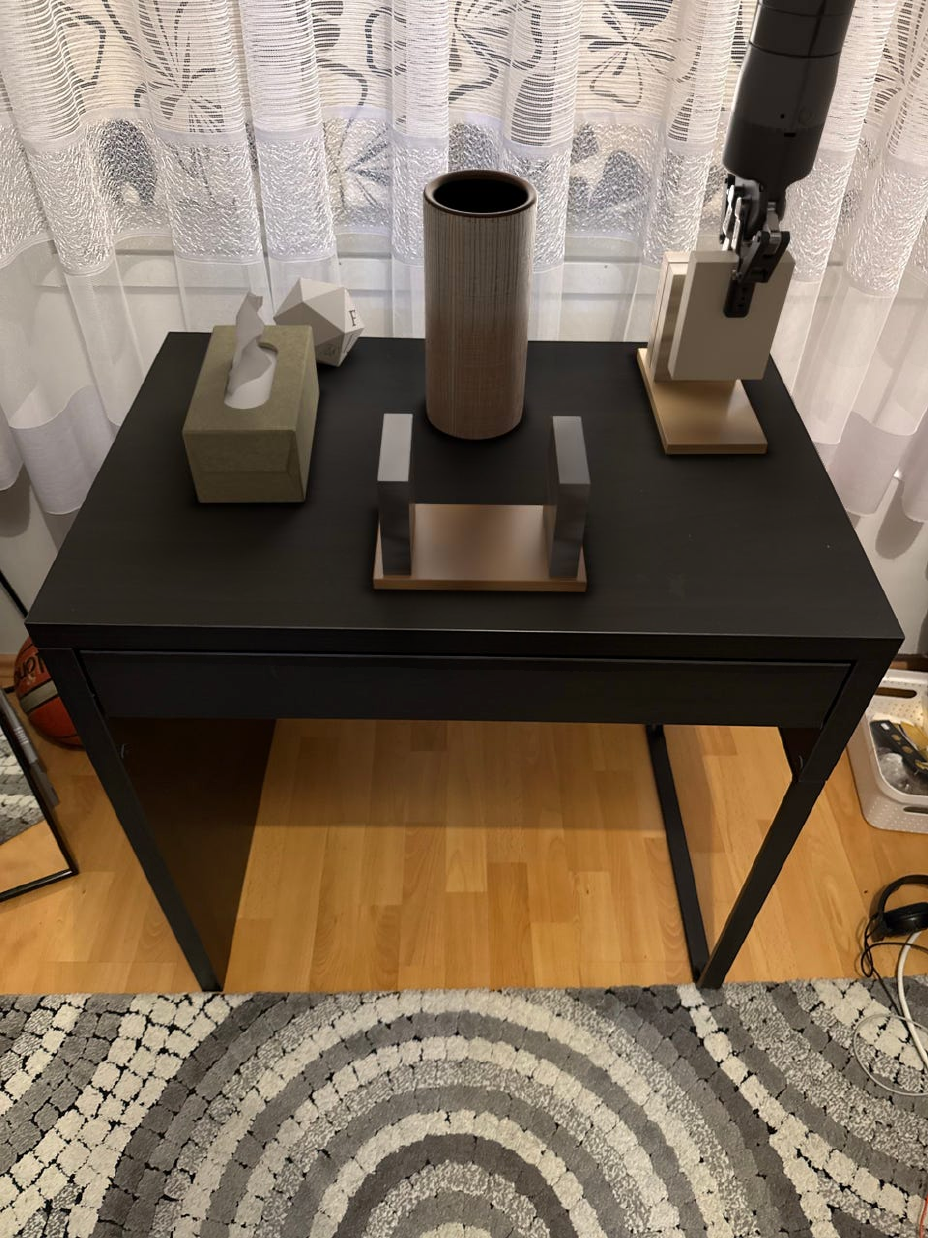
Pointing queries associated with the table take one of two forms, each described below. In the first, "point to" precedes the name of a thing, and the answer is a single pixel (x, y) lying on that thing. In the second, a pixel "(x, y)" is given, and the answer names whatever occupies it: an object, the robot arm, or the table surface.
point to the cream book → (725, 321)
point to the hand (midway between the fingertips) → (730, 307)
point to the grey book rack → (482, 524)
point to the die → (323, 317)
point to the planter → (477, 299)
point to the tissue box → (253, 411)
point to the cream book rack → (692, 386)
